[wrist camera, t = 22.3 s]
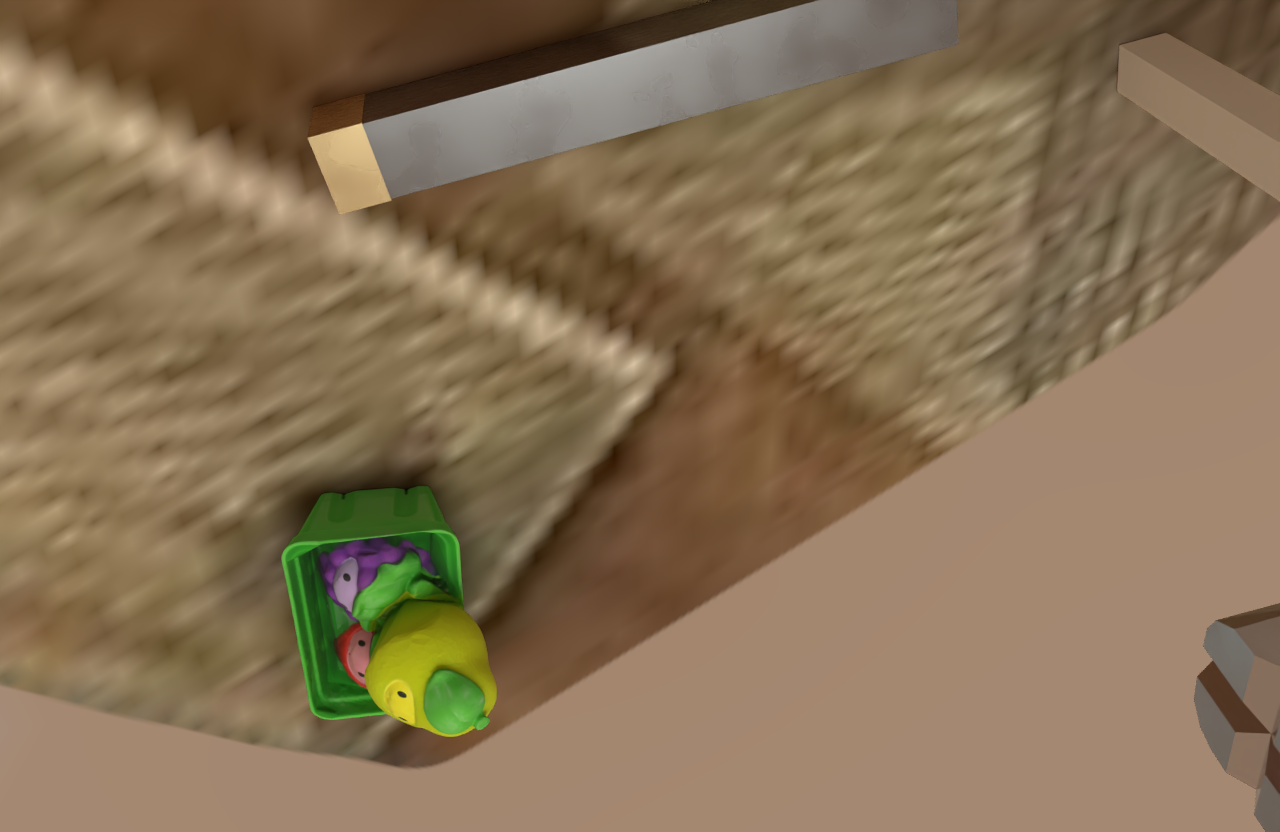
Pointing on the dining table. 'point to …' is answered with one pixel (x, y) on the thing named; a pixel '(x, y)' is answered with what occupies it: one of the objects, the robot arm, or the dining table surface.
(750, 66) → the pin
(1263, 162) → the pin stand
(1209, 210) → the dining table surface
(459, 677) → the fruit basket
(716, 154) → the dining table surface
